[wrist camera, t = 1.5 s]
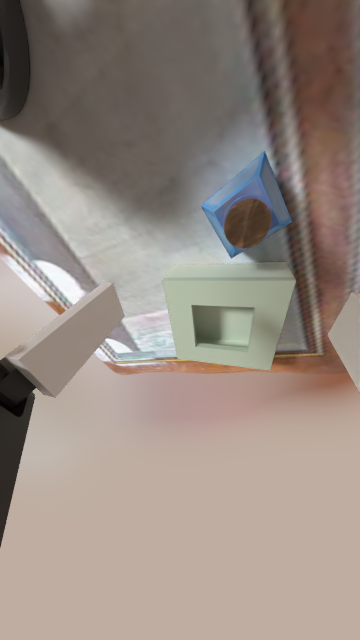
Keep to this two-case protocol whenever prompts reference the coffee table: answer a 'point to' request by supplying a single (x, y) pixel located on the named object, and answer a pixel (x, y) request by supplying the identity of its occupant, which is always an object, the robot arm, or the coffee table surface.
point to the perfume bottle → (247, 207)
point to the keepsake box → (228, 311)
